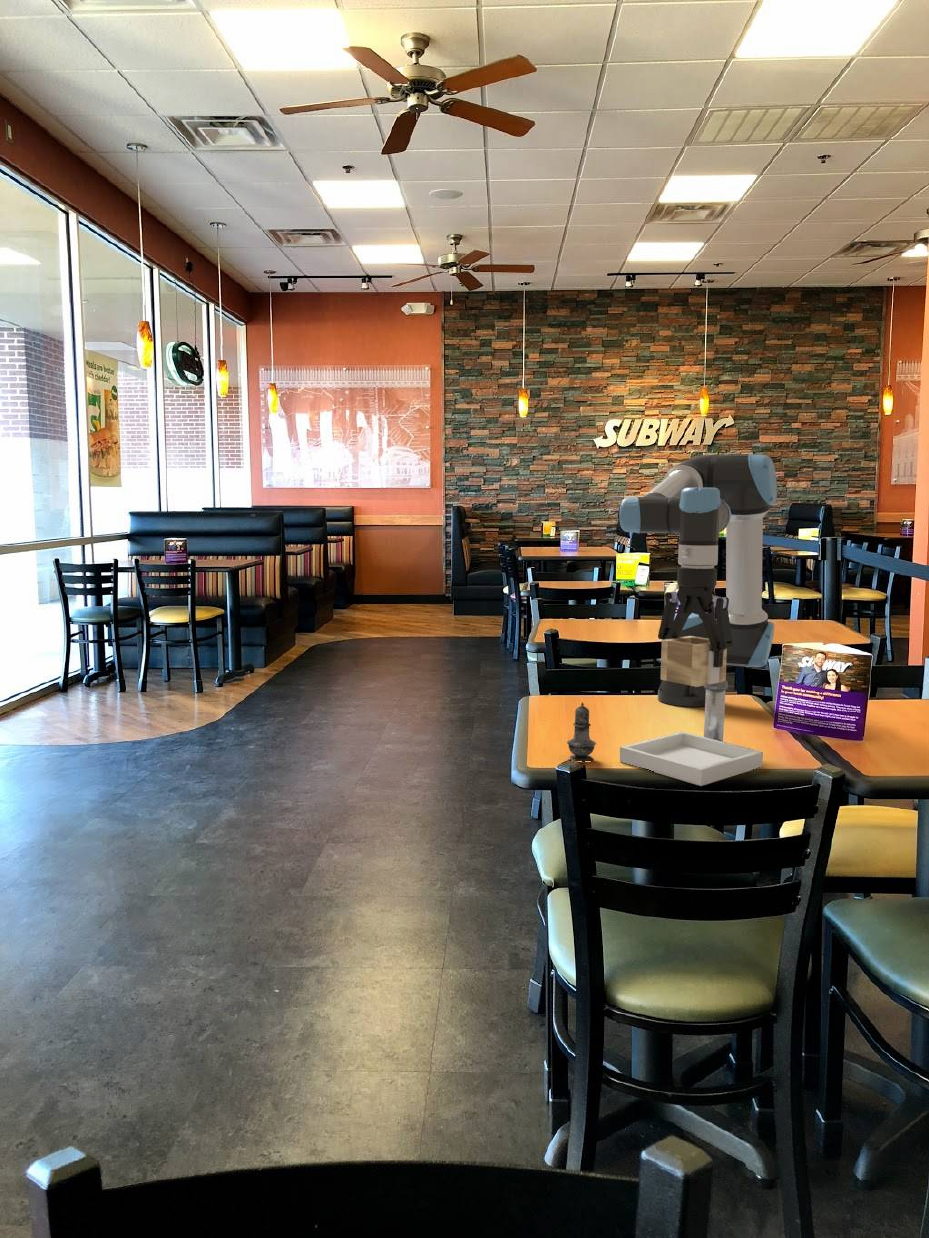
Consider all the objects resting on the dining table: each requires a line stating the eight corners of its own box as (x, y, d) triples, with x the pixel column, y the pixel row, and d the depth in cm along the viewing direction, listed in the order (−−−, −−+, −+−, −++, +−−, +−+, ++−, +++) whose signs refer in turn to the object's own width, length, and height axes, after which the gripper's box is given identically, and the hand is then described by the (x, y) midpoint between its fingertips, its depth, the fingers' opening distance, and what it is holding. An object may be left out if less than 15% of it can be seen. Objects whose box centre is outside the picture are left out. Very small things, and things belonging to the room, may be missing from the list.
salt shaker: (575, 764, 187) (577, 706, 185) (561, 757, 192) (562, 700, 191) (601, 761, 189) (602, 704, 188) (586, 754, 195) (587, 698, 193)
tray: (681, 745, 202) (682, 731, 201) (762, 766, 186) (763, 751, 186) (619, 761, 189) (620, 746, 189) (700, 785, 174) (701, 769, 174)
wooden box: (688, 674, 192) (690, 635, 191) (725, 681, 185) (727, 641, 184) (660, 679, 186) (661, 640, 185) (697, 686, 179) (698, 646, 178)
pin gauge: (710, 745, 202) (713, 677, 200) (729, 749, 199) (732, 680, 197) (696, 748, 199) (699, 680, 197) (715, 753, 196) (718, 683, 194)
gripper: (641, 563, 189) (638, 673, 192) (733, 571, 172) (727, 690, 175) (665, 562, 193) (661, 668, 196) (756, 569, 177) (750, 685, 180)
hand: (692, 679), depth 186 cm, fingers closed on wooden box, 9 cm apart
